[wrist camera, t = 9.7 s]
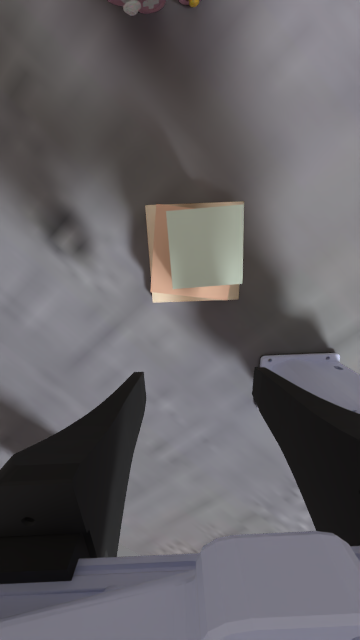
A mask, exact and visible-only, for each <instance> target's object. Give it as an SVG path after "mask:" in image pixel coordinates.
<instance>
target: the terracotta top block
mask: <svg viewBox="0 0 360 640" xmlns="http://www.w3.org/2000/svg"><path fill="white" fill-rule="evenodd" d="M184 209H194V208H186V207H178V206H171V205H163V204H156V215H155V230H154V246H153V261H152V277H151V292H154V293H164V294H173V295H182V296H191V297H200V298H209V299H218V300H227V299H228V294H229V289H230V285H220V286H207V287H194V288H181V289H173V286H172V275H171V263H170V252H169V240H168V229H167V217H166V211H173V210H184Z"/></svg>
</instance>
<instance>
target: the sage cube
mask: <svg viewBox="0 0 360 640" xmlns="http://www.w3.org/2000/svg"><path fill="white" fill-rule="evenodd" d="M166 217H167V229H168V240H169V252H170V263H171V275H172V286H173V289H181V288H194V287H207V286H220V285H233V284H242V282H243V230H244V204H243V205H231V206H219V207H208V208H196V209H184V210H173V211H166Z"/></svg>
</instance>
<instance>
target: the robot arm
mask: <svg viewBox="0 0 360 640" xmlns="http://www.w3.org/2000/svg"><path fill="white" fill-rule="evenodd" d="M326 357H327V358H326ZM268 359H270V360H269V361H268ZM339 359H340V355H339V354H337V353H319V354H293V355H268V356H263V357H261V361H260V367H255V370H254V381H253V391H252V395H253V397H254V400H255V402H256V407H257V409H258V410H259V411H260V413H261V415H262V416H263V418H264V420H265V422H266V423H267V425H268V427H269V429H270V430H271V432H272V434H273V436H274V437H275V439H276V441H277V442H278V444H279V446H280V448H281V450H282V452H283V454H284V456H285V458H286V460H287V463H288V465H289V467H290V469H291V471H292V473H293V476H294V478H295V480H296V483H297V485H298V487H299V489H300V492H301V494H302V496H303V499H304V501H305V504H306V506H307V509H308V511H309V514H310V516H311V518H312V521H313V523H314V526H315V529H316V531H307V532H285V533H263V534H241V535H230V536H225V537H220V538H216V539H214V540H213V541H211V542H210V543H208V544H206V545H205V546H203V548H202V550H201V552H200V553H194V554H172V555H150V556H129V557H117V551H118V543H119V536H120V529H121V523H122V516H123V510H124V503H125V497H126V491H127V485H128V479H129V474H130V468H131V462H132V457H133V453H134V449H135V445H136V442H137V438H138V434H139V431H140V427H141V423H142V420H143V416H144V411H145V404H146V391H145V381H144V372H134V373H133V374H132V375H131V376H130V377H129V378H128V379H127V380H126V381H125V382H124V383H123V384H122V385H121V386H120V387H119V388H118V389H117V390H116V391H115V392H114V393H113V394H111V395H110V396H109V397H108V398H107V399H106V400H105V401H104V402H102V403H101V404H100V405H99V406H97V407H96V408H95V409H93V410H92V411H91V412H89V413H88V414H87V415H85V416H84V417H82V418H81V419H79V420H78V421H76V422H74V423H73V424H71V425H70V426H68V427H67V428H65V429H63V430H61V431H60V432H58V433H56V434H54V435H52V436H51V437H49V438H47V439H45V440H43V441H41V442H39V443H37V444H35V445H33V446H31V447H29V448H27V449H25V450H22V451H20V452H18V453H16V454H14V455H13V456H12V457H11V458H10V459H9V460H8V461H7V463H6V464H5V465H4V466H3V467H2V468H1V470H0V640H360V374H358V373H356V372H355V371H353V370H351V369H350V368H348V367H346V366H345V365H343V364H341V363H340V362H339Z"/></svg>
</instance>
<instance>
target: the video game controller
mask: <svg viewBox="0 0 360 640" xmlns="http://www.w3.org/2000/svg"><path fill="white" fill-rule="evenodd" d="M107 1H108V2H110V3H112V4H114V5H118V6H123V10H124V12H126V13H127V14H129V15H131V16H134V15H136V14H137V13H138V11H139V12H140V13H143V14H149V13H153V12H157V11H159V10H160V9H161V8H162V7H164V5H165V2H166V0H107ZM200 1H201V0H179V2H180V3H181V4H183V5H190V6H191V7H196V6H197V5H198V4H199V2H200Z"/></svg>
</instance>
